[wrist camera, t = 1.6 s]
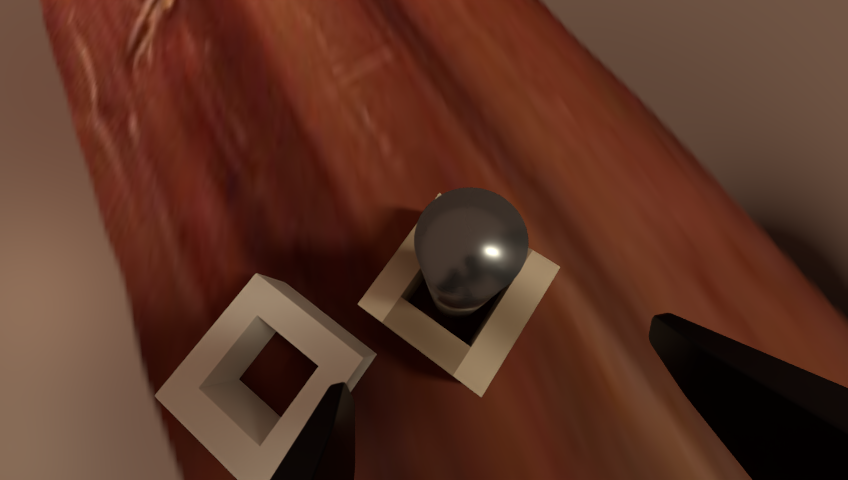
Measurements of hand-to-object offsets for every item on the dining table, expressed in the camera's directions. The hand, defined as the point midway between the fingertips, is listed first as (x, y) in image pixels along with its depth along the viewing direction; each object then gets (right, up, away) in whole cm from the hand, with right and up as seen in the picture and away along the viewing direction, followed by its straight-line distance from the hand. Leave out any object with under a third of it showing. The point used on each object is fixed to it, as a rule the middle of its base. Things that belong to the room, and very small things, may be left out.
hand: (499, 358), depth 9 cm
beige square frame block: (0, 0, +12) cm, 12 cm away
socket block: (-11, -5, +11) cm, 16 cm away
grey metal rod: (0, 0, +12) cm, 12 cm away
